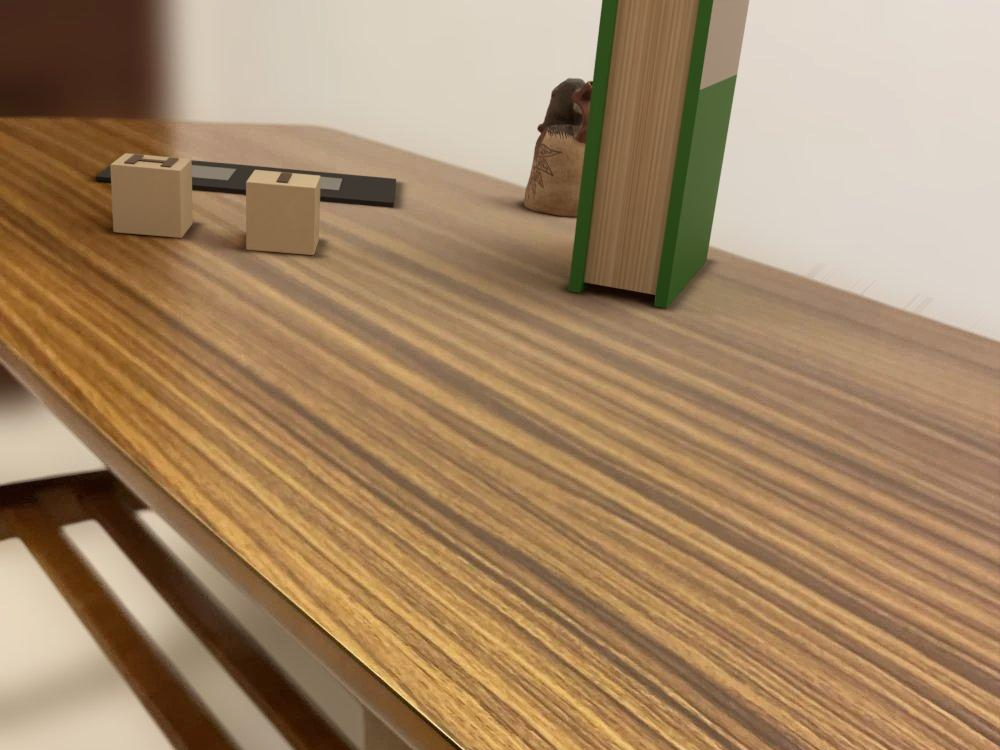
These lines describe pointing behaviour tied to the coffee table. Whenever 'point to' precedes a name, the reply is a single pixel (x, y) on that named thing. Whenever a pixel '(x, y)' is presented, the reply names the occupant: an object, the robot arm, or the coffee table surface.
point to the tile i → (282, 212)
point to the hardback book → (655, 142)
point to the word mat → (331, 184)
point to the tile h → (152, 195)
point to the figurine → (560, 151)
